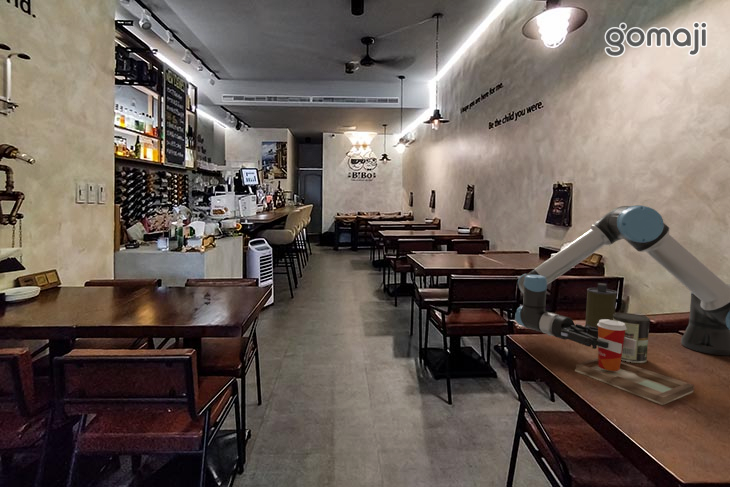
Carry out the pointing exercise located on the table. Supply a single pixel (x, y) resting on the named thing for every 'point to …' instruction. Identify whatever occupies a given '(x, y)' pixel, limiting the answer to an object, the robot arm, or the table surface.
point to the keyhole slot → (637, 381)
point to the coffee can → (635, 336)
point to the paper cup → (613, 333)
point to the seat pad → (655, 386)
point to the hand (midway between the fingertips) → (628, 346)
